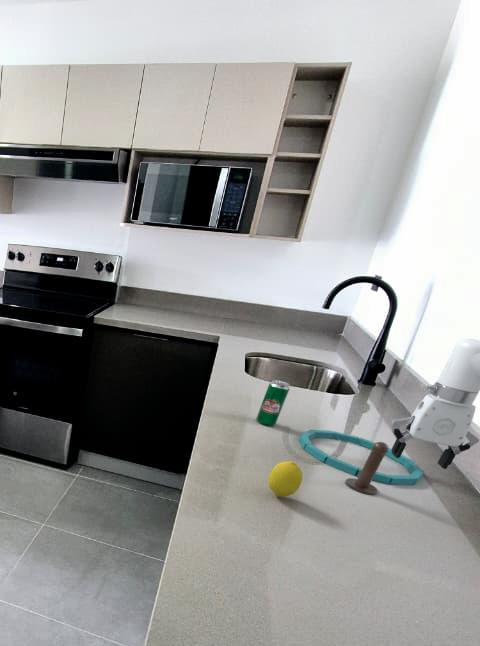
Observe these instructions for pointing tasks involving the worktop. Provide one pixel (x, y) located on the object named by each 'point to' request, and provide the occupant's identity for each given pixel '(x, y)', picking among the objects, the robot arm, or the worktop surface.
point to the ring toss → (369, 470)
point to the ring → (380, 477)
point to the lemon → (285, 479)
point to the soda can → (273, 402)
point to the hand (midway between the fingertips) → (418, 461)
